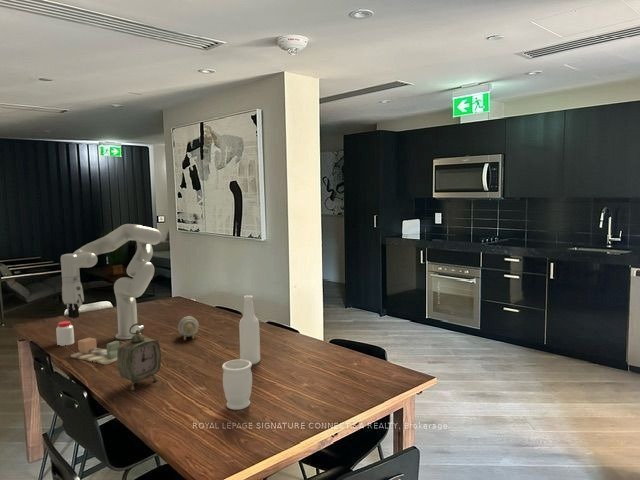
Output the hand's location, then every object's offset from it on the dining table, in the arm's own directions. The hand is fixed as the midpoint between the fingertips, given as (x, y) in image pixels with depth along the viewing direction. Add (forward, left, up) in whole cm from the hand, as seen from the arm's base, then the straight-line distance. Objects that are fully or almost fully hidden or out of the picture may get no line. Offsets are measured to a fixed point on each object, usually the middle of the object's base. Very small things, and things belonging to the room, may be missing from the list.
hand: (73, 317), depth 224 cm
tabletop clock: (+15, +60, -17) cm, 64 cm away
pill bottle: (-6, -16, -17) cm, 25 cm away
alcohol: (-24, +86, -17) cm, 90 cm away
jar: (+13, +106, -17) cm, 109 cm away
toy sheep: (-40, +35, -17) cm, 56 cm away
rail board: (0, +16, -17) cm, 24 cm away
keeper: (0, +8, -16) cm, 18 cm away
